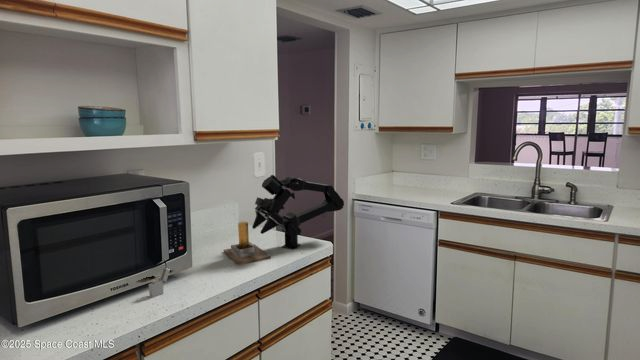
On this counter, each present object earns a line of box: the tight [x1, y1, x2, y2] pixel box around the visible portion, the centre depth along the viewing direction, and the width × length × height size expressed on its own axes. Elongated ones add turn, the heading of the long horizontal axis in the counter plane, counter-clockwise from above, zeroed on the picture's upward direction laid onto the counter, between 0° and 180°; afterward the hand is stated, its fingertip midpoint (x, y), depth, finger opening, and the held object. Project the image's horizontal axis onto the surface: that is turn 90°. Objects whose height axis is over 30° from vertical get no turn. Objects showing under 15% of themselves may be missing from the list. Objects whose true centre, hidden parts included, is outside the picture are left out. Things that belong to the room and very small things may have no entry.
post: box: [237, 221, 250, 250], centre depth 166 cm, size 4×4×13 cm
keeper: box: [223, 241, 272, 266], centre depth 167 cm, size 14×18×4 cm
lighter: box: [148, 268, 170, 299], centre depth 132 cm, size 7×2×8 cm, turn 144°
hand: (256, 230), depth 168 cm, fingers open, 9 cm apart
